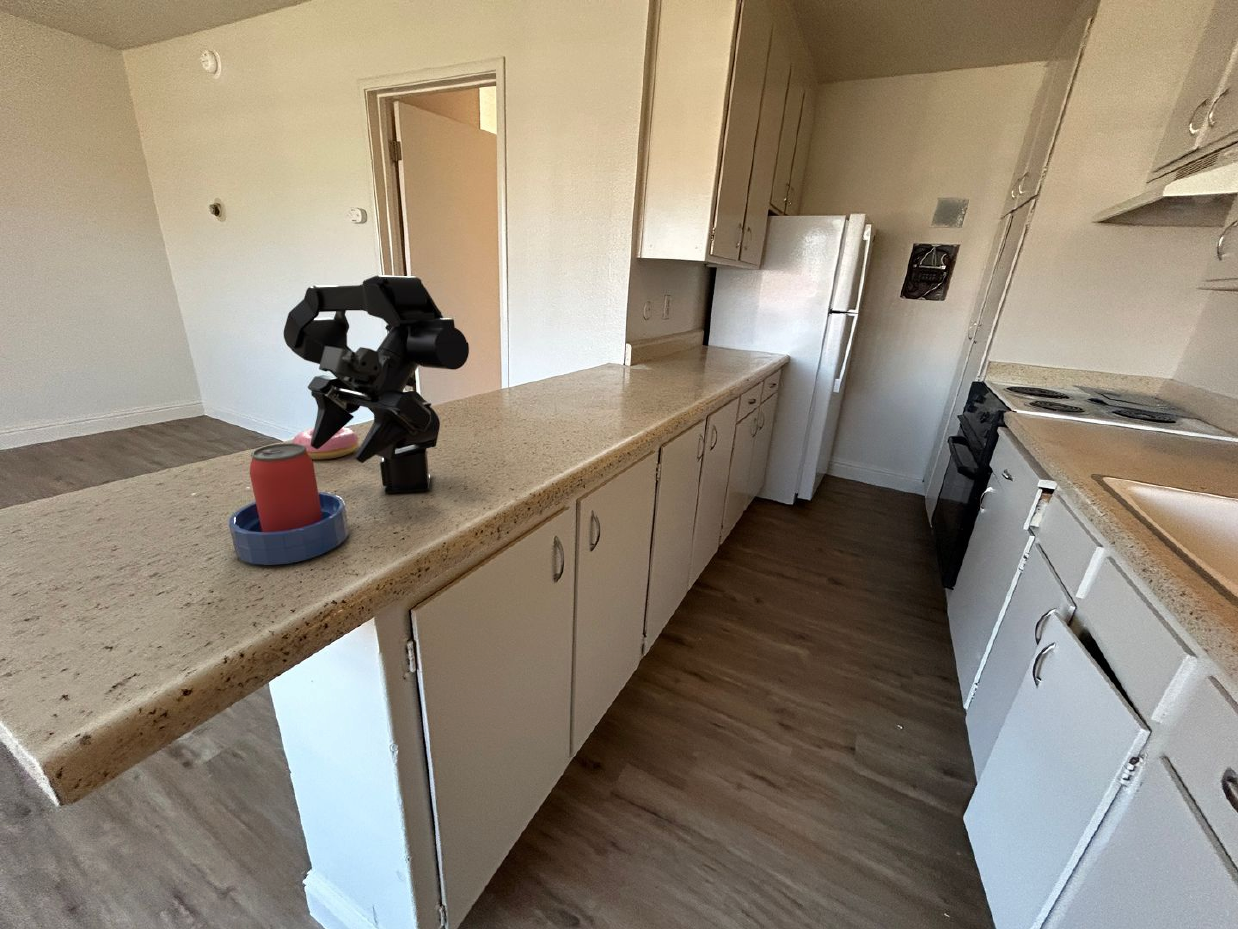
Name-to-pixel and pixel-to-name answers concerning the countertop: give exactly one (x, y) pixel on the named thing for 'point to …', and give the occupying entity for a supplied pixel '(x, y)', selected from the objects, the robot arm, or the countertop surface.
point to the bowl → (288, 535)
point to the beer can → (284, 487)
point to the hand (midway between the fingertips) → (335, 454)
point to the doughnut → (329, 444)
